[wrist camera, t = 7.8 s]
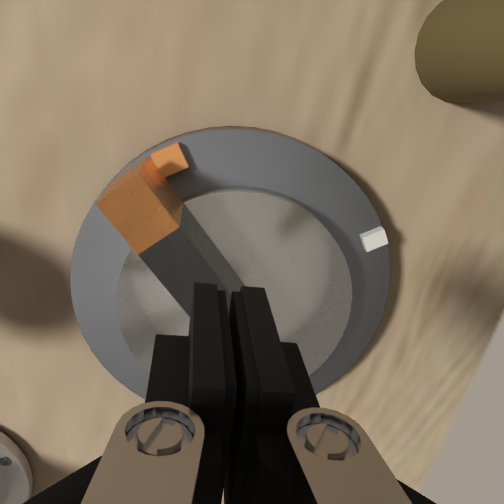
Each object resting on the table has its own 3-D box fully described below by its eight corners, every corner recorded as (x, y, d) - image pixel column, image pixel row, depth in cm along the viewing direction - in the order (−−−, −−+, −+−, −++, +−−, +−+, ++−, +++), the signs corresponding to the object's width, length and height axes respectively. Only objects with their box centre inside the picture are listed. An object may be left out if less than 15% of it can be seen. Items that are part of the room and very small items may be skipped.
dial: (382, 317, 31) (416, 367, 26) (207, 420, 33) (207, 485, 28) (240, 89, 25) (249, 97, 20) (35, 231, 27) (-4, 271, 22)
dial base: (163, 436, 36) (160, 463, 34) (15, 205, 29) (-2, 218, 26) (411, 339, 35) (426, 360, 33) (325, 70, 27) (337, 72, 25)
